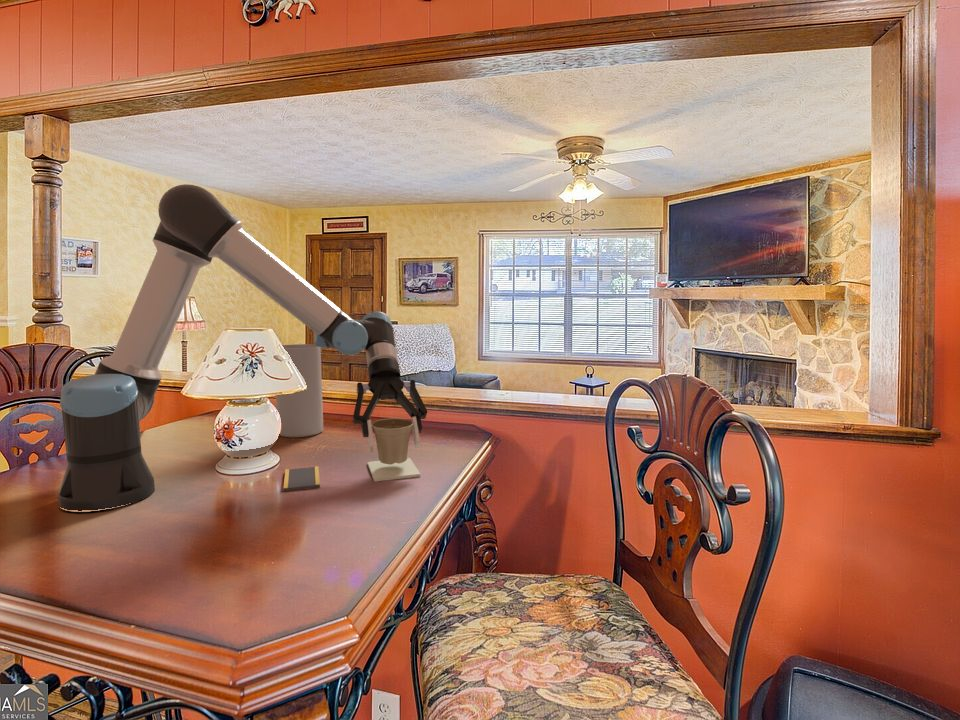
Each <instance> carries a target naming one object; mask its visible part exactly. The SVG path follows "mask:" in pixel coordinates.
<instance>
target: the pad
mask: <svg viewBox="0 0 960 720" xmlns="http://www.w3.org/2000/svg"><path fill="white" fill-rule="evenodd" d="M367 467H368V469H369V472H370V474H371V477H372V480H373V482H382V481H391V480H402V479H410V478H419V477H421V472H420V470H418V468H417V466H416V465H415V463H414V462H413V460H412V459H411V457H407V460H406V461H405V462H403V463H399V464H398V463H394V464H384V463H381V462H380V460H374V461H367Z"/></svg>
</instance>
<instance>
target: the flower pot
mask: <svg viewBox="0 0 960 720" xmlns="http://www.w3.org/2000/svg"><path fill="white" fill-rule="evenodd" d="M371 425H372V432H373V433H374V436H375V442H376V448H377V453H378V461H380V462H381V463H384V464H394V463H398V464H399V463H403V462H405V461H406V460H407V458H408V452H409V443H410V437H411V432H412V426H413V425H414V422H413V421H412V419H411V420H410V419H408V418H399V417H398V418H395V417H393V418H391V417H390V418H382V419H378V420H375V421H373V422H371Z"/></svg>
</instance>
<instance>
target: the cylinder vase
mask: <svg viewBox="0 0 960 720" xmlns="http://www.w3.org/2000/svg"><path fill="white" fill-rule="evenodd" d="M281 345H282V346H283V347H284V349H285V350H286V351H287V352H288V354H289V355H290V357H291V359H292V361H293V363H294V364H295V366H296V367H297V369H298V370H299V372H300V373H301V375H302V376H303V377H304V379H305V382H306V385H307V390H304V391H300V392H296V393H293V394H286V395H279V396H276V395H275V405H276V407H275V409H277V410H278V412H279V414H280V417H281V423H282V430H281V434H280V435H279V436H281V437H284V438H295V439H296V438H307V437H312V436H315V435H318V434H320V433H322V432H323V430H324V415H323V414H324V413H323V411H324V410H323V405H324V404H323V380H322V353H321V351H322V347H317V346H316V345H315V344H310V343H309V344H305V343H302V344H300V343H299V344H281Z"/></svg>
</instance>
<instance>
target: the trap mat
mask: <svg viewBox="0 0 960 720" xmlns="http://www.w3.org/2000/svg"><path fill="white" fill-rule="evenodd" d="M284 471H285V472H284V480H283V492H291V491H292V492H293V491H300V490H299V489H301V490H308V489H307V488H310V489H317V487H319V488H321V483H320V471H319V465H317V466H311V467H300V468H285V470H284Z"/></svg>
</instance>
